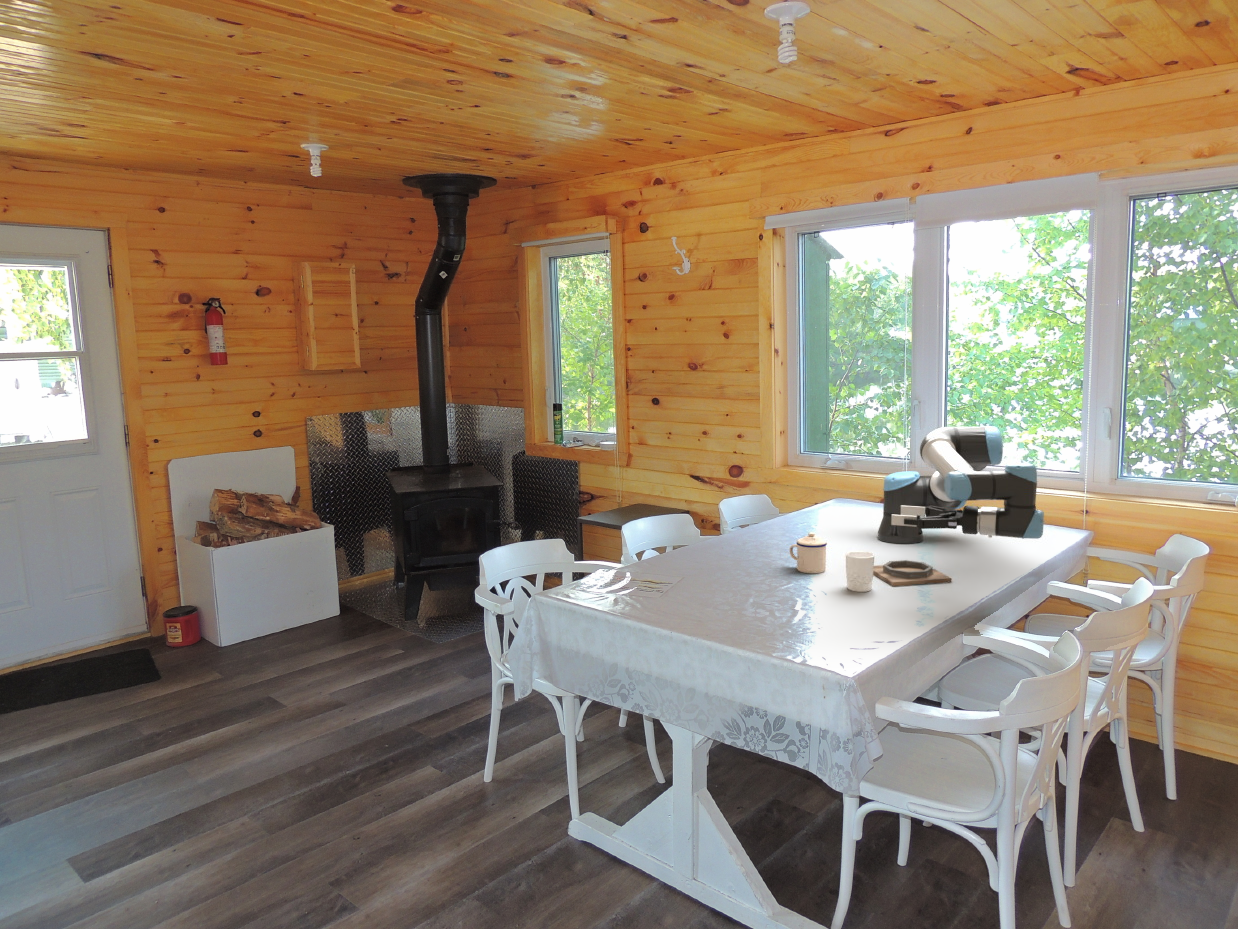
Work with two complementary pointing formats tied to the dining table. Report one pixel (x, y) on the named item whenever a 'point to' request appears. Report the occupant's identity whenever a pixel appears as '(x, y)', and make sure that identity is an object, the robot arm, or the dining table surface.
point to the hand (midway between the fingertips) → (896, 514)
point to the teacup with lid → (810, 554)
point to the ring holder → (909, 573)
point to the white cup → (859, 570)
